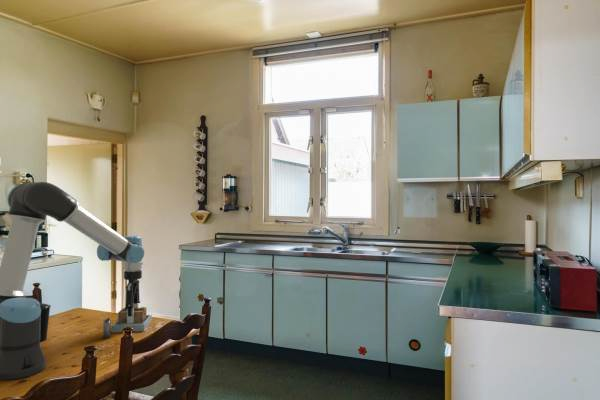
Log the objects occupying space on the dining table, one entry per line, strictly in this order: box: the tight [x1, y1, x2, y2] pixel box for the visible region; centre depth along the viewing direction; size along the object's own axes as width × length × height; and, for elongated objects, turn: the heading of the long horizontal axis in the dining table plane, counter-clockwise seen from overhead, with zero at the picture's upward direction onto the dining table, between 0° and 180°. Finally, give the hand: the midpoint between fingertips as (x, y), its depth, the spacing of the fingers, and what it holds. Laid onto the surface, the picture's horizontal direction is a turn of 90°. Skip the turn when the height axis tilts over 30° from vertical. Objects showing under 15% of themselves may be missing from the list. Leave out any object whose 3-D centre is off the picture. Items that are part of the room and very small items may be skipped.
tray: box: [111, 314, 153, 333], centre depth 190 cm, size 16×14×3 cm
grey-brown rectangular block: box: [117, 306, 147, 324], centre depth 190 cm, size 10×7×6 cm
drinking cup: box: [38, 290, 52, 343], centre depth 170 cm, size 8×8×20 cm
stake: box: [102, 316, 112, 340], centre depth 174 cm, size 4×3×8 cm
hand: (132, 320), depth 190 cm, fingers closed on grey-brown rectangular block, 7 cm apart
